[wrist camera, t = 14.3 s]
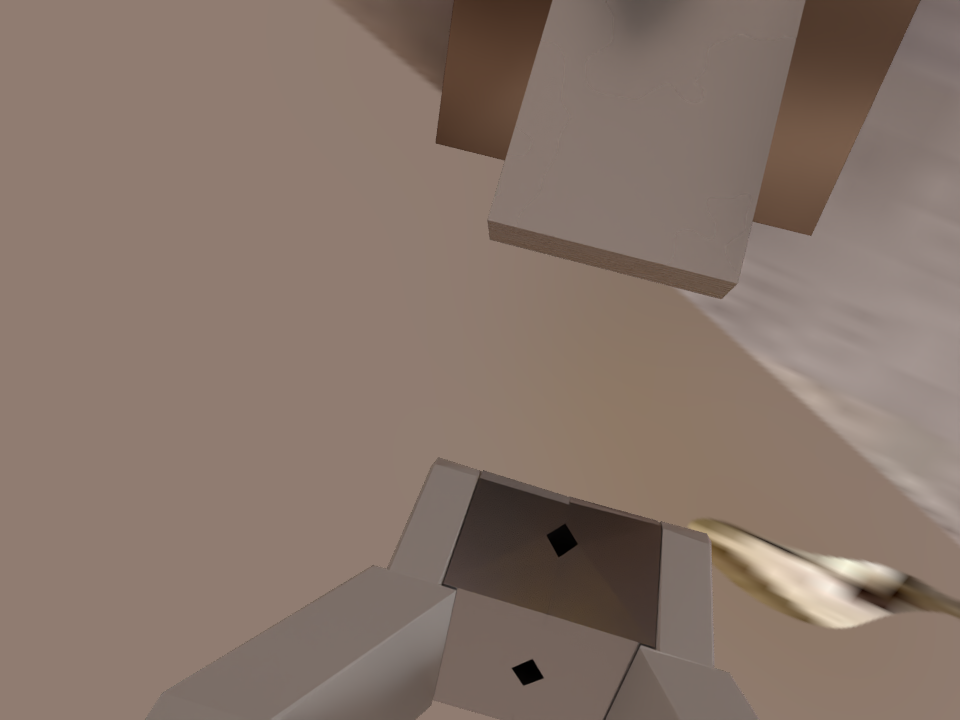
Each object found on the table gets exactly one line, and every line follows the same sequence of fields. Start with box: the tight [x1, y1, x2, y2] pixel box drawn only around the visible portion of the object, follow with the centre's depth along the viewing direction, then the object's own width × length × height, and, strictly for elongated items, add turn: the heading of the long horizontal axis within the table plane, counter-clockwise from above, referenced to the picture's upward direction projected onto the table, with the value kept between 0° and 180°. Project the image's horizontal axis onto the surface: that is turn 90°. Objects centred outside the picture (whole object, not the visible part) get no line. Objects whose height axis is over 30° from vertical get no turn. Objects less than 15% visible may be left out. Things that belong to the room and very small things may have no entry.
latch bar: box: [488, 0, 805, 299], centre depth 16 cm, size 12×5×1 cm
